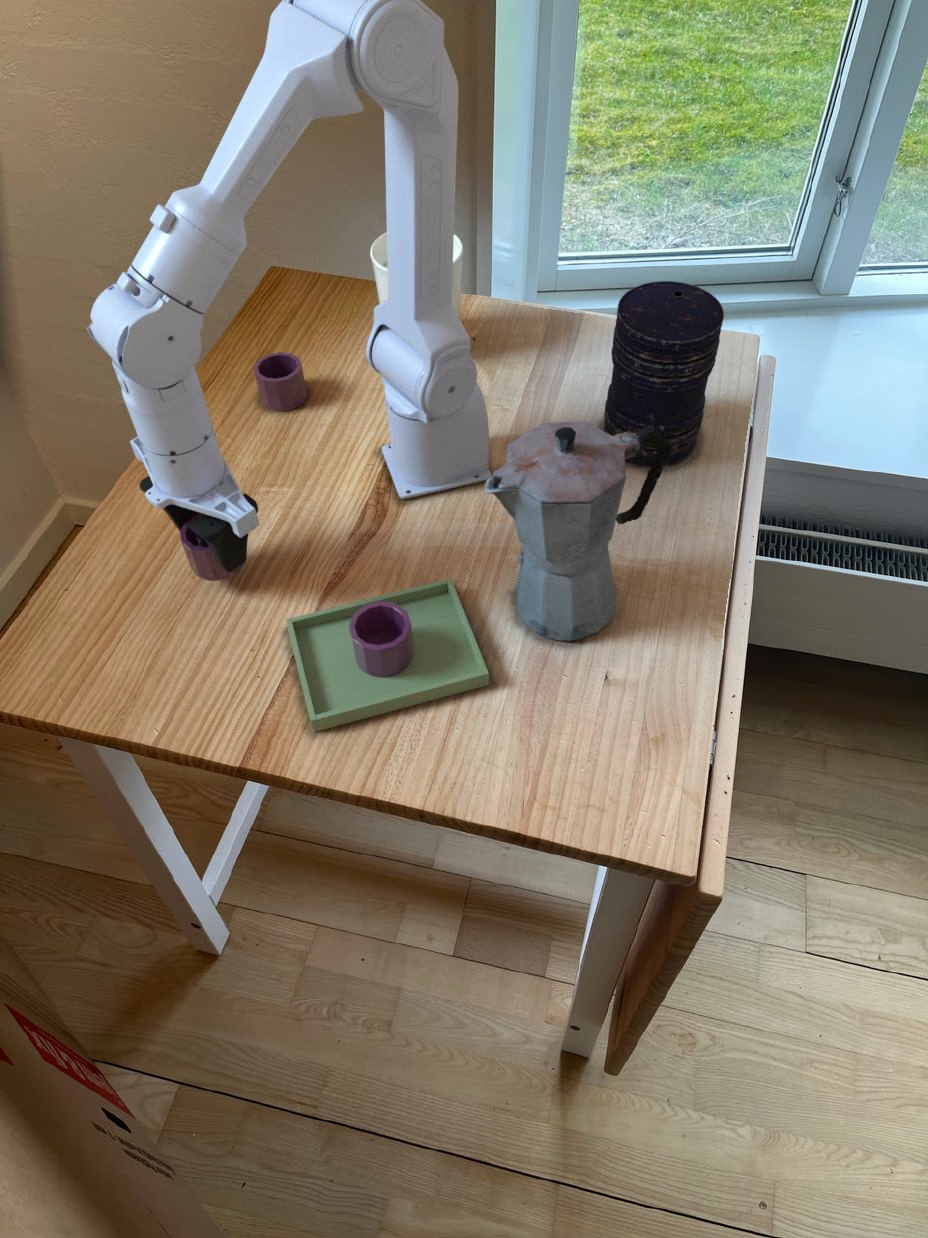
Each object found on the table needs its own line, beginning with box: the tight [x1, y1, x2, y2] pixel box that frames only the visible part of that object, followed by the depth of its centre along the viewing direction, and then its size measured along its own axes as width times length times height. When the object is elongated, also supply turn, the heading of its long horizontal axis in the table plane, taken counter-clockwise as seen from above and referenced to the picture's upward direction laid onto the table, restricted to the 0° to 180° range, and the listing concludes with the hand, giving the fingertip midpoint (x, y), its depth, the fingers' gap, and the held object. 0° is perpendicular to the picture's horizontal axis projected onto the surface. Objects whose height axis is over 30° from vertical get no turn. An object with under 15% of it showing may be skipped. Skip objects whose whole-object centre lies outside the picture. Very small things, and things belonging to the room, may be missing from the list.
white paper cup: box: [369, 231, 464, 320], centre depth 105 cm, size 10×10×12 cm
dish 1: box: [179, 512, 248, 582], centre depth 85 cm, size 5×5×4 cm
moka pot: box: [483, 421, 673, 642], centre depth 77 cm, size 10×15×20 cm, turn 113°
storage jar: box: [602, 280, 725, 469], centre depth 93 cm, size 10×10×15 cm
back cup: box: [253, 351, 308, 412], centre depth 102 cm, size 5×5×4 cm
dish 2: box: [349, 601, 414, 677], centre depth 80 cm, size 5×5×4 cm
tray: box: [285, 577, 490, 733], centre depth 81 cm, size 15×11×2 cm
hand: (215, 549), depth 85 cm, fingers closed on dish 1, 5 cm apart
